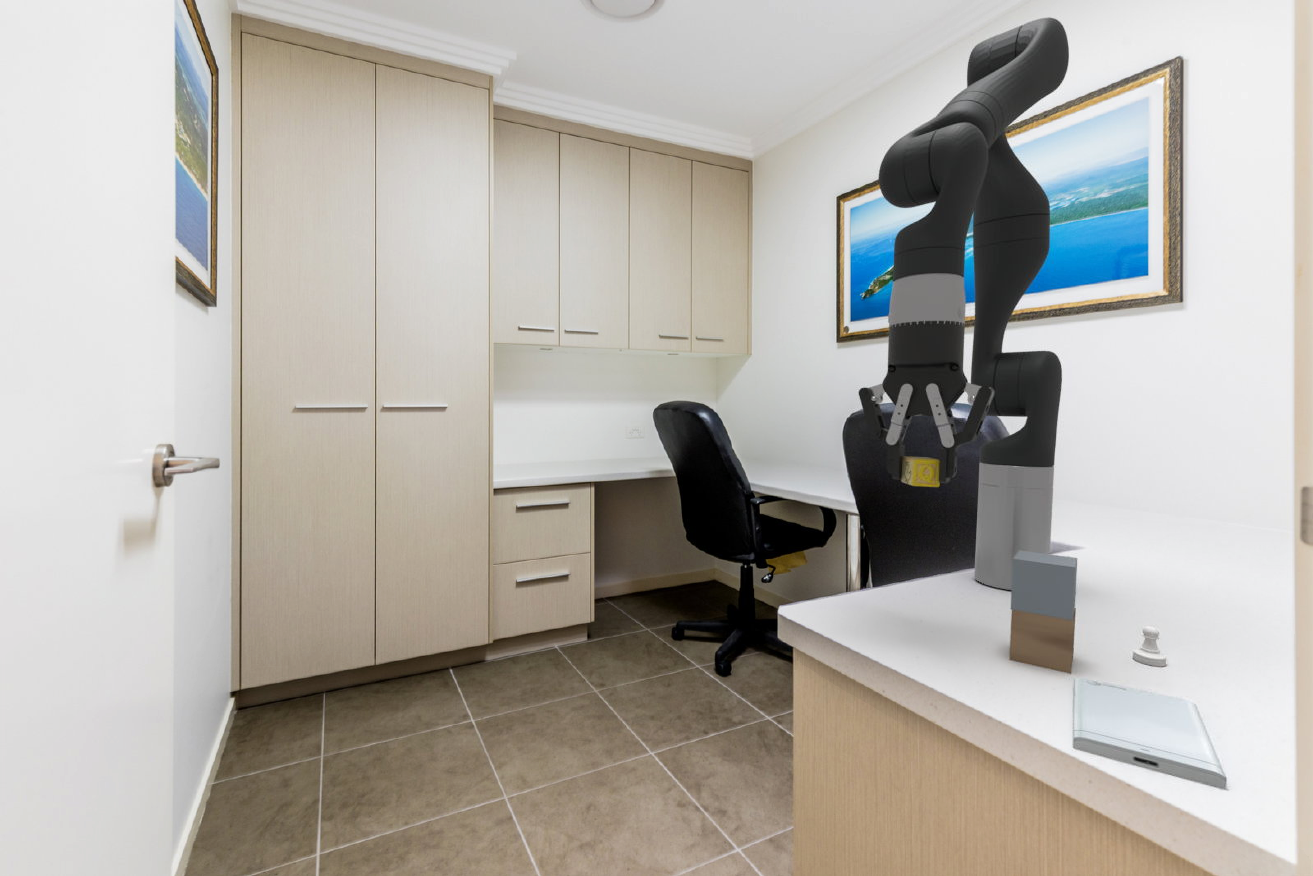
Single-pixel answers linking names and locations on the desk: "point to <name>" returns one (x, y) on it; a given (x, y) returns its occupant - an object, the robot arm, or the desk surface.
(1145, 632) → the chess pawn
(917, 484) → the alphabet block
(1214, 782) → the hard drive
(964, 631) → the desk surface
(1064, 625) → the block
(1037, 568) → the tower top
